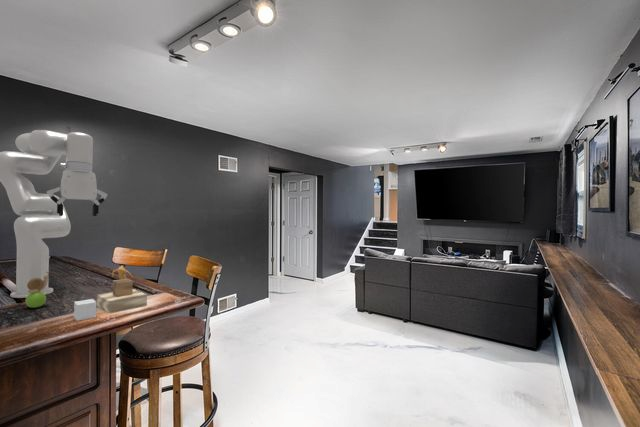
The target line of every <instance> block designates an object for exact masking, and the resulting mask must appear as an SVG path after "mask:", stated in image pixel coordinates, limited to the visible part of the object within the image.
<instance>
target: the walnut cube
mask: <svg viewBox="0 0 640 427" xmlns="http://www.w3.org/2000/svg"><path fill="white" fill-rule="evenodd" d="M133 284H134V282H133V280H132V279H130V278H127V279H124V278H122V279H114V280H112V292H113V295H115V296H116V297H120V296H126V295H132V292H133V289H134V288H133V286H134V285H133Z"/></svg>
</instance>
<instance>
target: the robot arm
mask: <svg viewBox="0 0 640 427" xmlns="http://www.w3.org/2000/svg"><path fill="white" fill-rule="evenodd" d="M14 142H15V147H17V149H18V150H19V151H9V150H4V151H0V183H1V184H2V186H3V188H4V189H5V191H6V194H7V198H8V199H9V202H10V205H11V208H12V211H13V212H14V213H15V214H16V216H17V215H18V217H17V218H16V219H15V220H14V222H13V230H14V234H15V240H16V272H15V274H16V277H15V278H16V282H15V291H12V292H11V293H10V297H11V298H15V299H24V298H25V299H26V298H27V296H28V295H29V294H31V293H29V292H28V290H30V289H28V287H27V284H28V282H29V281H30V280H31V279H33V278H40V279H42V280H43V281H44V276H45V275H48V273H46V272H47V271H48V272H49V273H50V269H49V268H50V267H49V266H50V264H49V262H50V249H49V247H48V245H47V244H46V243H45V241H44V240H43V239H53V238H54V239H55V238H64V237H67V236H68V235H69V234H70V232H71V229H72V228H71V227H72V226H71V222H70V218H69V216H68V213H67V210H66V208H65V206H64V203H63V202H65V201H66V200H84V201H85V200H86V201H90V202H92V203H93V204H92V216H93V217H97V215H98V214H99V208H100V207H99V206H100V205H101V204H102V203H103V202H105V200H106V199H107V197H108V193H107V192H104V191H102V190H101V189H98V187H97V186H98V184H97V177H96V173H95V172H93V152H94V150H93V148H94V146H93V145H94V138H93V137H92V136H91V135H90V134H88V133H84V132H78V131H77V132H76V131H73V132H72V131H71V132H69V133H62V132H58V131H53V130H48V129H47V130H46V129H35V130H33V131H31V132H27V133H23V134H19V135H18V136H17V137H16V138H15V141H14ZM62 155H63V156H65V162H61V163H60V167H61V168H64V169H65V170H63V171H62V173H61V174H62V176H61V181H60V186H58V187H56V188H53V189H50V190H47V191H46V193H39V192H37V191H36V190H35V186H34V185H33V183H32V181H30V179H28V178H27V177H25V176H24V175H23V174H29V175H39V176H41V175H47V174H49V173H50V172H51V171H52V170H53V169H54V167H55V165H57V163H58V162H59V161H60V159H61V157H62ZM57 192H59V194H60V196H57V195H55V194H54V193H57ZM98 195H100V196H101V197H100V198H99V199H98V200H97V197H98ZM40 292H42V293H44V294H45V295H50V294H52V293H53V292H54V288H53V287H49V280H48V281H47V285H46V287H45V288H44V289H43V290H42V291H40Z"/></svg>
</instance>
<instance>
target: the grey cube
mask: <svg viewBox="0 0 640 427" xmlns="http://www.w3.org/2000/svg"><path fill="white" fill-rule="evenodd" d="M73 303H74V304H73V305H74V306H73V317H74V319H75V320H76V322H77V321H83V320H88V319H93V318H97V300H95V299H94V298H90V299H84V300H83V299H82V300H78V301H77V300H76V301H74V302H73Z"/></svg>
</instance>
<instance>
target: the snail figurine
mask: <svg viewBox="0 0 640 427" xmlns="http://www.w3.org/2000/svg"><path fill="white" fill-rule="evenodd" d="M46 273H48V275H45V276H44V281H43V280H42V279H40V278H33V279H31V280H30V281H29V282H28V284H27V287H28V289H30V290H28V292H29V293H31V294H29V295H28V296H27V298H25V304H26V306H27V307H29V308H31V309H36V308H39V307H42V306H43V305H44V304H45V303H46V301H47V296H46V295H47V294H46V295H45V294H44V293H42V292H40V291H42V290H43V289H44V288H45V287H46V285H47V281H48V282H49V273H50V271H49V272H48V271H47V272H46Z"/></svg>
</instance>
